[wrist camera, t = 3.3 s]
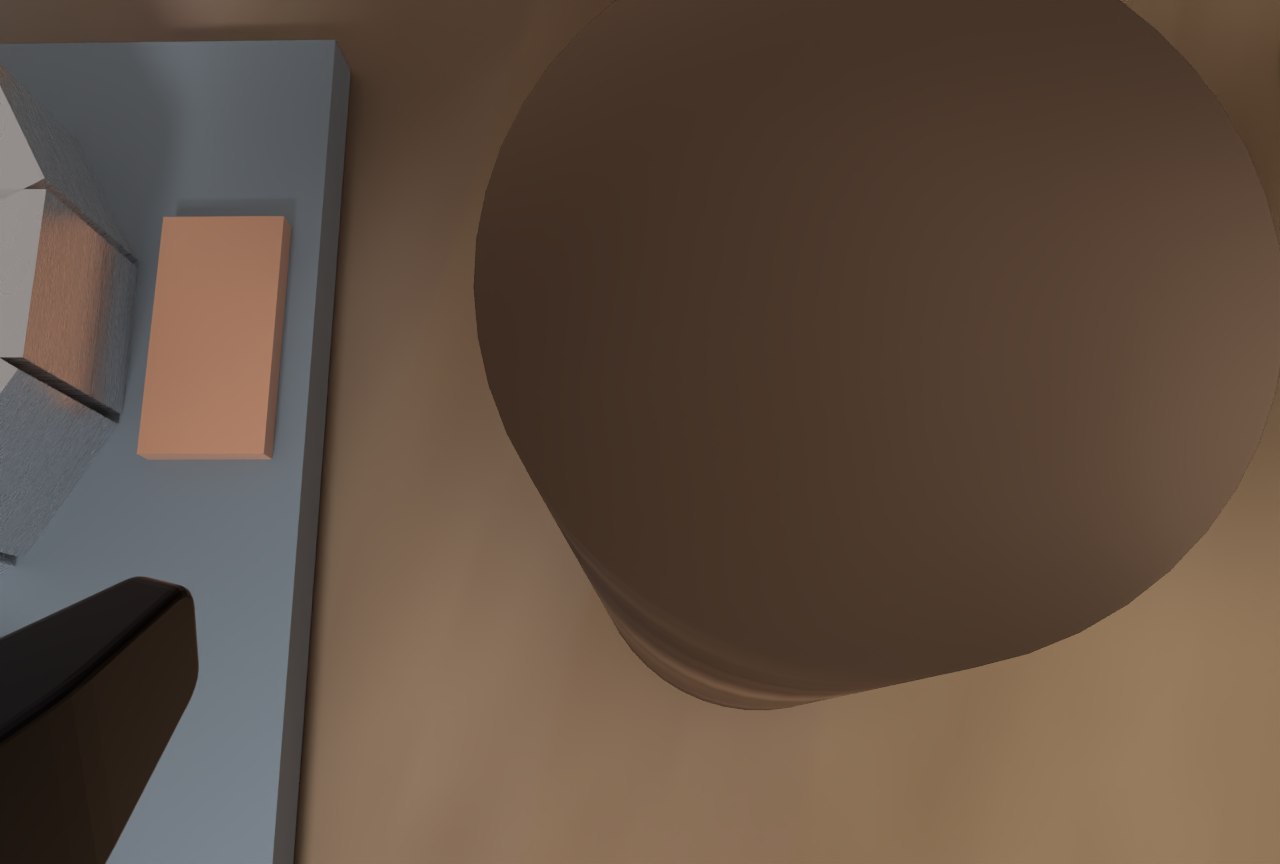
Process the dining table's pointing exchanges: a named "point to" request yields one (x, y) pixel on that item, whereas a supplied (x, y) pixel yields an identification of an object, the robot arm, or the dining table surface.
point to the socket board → (176, 385)
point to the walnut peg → (874, 328)
